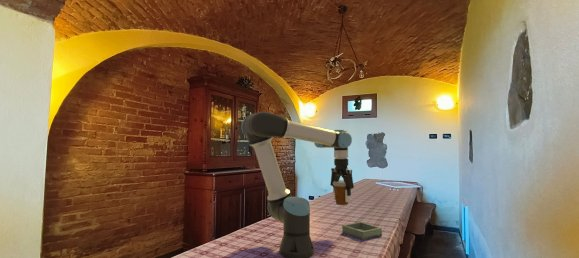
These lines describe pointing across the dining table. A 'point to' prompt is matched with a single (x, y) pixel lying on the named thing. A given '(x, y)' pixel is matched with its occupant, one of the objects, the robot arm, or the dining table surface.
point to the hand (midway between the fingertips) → (342, 200)
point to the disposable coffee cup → (340, 192)
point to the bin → (362, 230)
